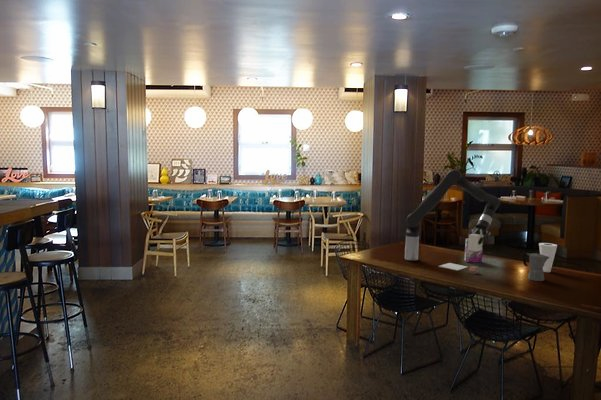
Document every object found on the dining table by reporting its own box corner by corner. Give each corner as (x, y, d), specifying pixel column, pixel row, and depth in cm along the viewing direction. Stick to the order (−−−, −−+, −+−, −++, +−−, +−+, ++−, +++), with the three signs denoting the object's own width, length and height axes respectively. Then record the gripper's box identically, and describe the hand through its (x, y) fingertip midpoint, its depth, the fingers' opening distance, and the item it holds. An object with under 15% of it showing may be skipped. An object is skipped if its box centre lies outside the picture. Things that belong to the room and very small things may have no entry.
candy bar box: (465, 262, 319) (467, 239, 317) (464, 260, 324) (465, 238, 322) (482, 262, 318) (483, 240, 316) (480, 261, 323) (481, 238, 321)
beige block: (476, 251, 285) (477, 235, 284) (468, 249, 289) (468, 234, 288) (481, 250, 289) (481, 234, 288) (472, 248, 293) (473, 233, 292)
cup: (553, 274, 289) (555, 246, 287) (535, 271, 296) (536, 244, 294) (557, 271, 297) (559, 244, 295) (539, 268, 304) (541, 242, 302)
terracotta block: (474, 274, 288) (475, 268, 287) (469, 272, 291) (469, 266, 290) (477, 273, 290) (478, 267, 290) (472, 271, 293) (472, 265, 293)
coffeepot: (549, 279, 277) (550, 250, 275) (546, 282, 270) (548, 253, 268) (521, 275, 286) (523, 247, 284) (518, 278, 278) (520, 249, 277)
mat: (457, 270, 296) (457, 270, 296) (438, 266, 306) (438, 265, 306) (468, 267, 305) (468, 266, 305) (449, 263, 315) (449, 262, 315)
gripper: (471, 218, 298) (461, 237, 291) (493, 220, 287) (483, 241, 280) (475, 225, 302) (465, 244, 295) (496, 228, 291) (486, 248, 284)
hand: (474, 242), depth 288 cm, fingers closed on beige block, 5 cm apart
